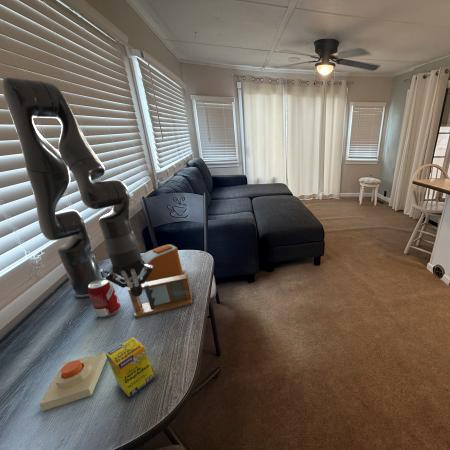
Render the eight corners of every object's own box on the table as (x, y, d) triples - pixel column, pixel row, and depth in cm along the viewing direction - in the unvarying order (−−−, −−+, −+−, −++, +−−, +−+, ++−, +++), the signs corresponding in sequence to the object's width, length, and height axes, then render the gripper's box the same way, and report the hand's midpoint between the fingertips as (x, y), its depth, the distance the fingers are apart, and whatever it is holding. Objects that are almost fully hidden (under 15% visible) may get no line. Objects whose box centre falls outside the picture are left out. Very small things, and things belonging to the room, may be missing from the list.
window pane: (151, 304, 85) (143, 279, 81) (172, 299, 88) (166, 274, 84) (148, 314, 81) (140, 287, 77) (171, 308, 83) (164, 282, 79)
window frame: (138, 306, 86) (130, 283, 83) (192, 294, 92) (187, 272, 89) (134, 317, 81) (126, 293, 78) (191, 303, 87) (186, 280, 84)
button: (67, 367, 60) (64, 362, 59) (85, 363, 61) (82, 357, 60) (60, 380, 57) (57, 375, 56) (79, 375, 58) (76, 370, 57)
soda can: (108, 319, 80) (97, 290, 76) (92, 317, 82) (80, 288, 77) (125, 306, 87) (116, 278, 82) (110, 304, 88) (100, 276, 84)
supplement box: (130, 399, 56) (116, 365, 52) (118, 386, 59) (104, 353, 55) (155, 378, 61) (144, 346, 57) (143, 367, 64) (132, 335, 60)
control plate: (66, 369, 63) (60, 358, 62) (107, 358, 66) (102, 347, 65) (43, 410, 54) (35, 399, 52) (91, 395, 57) (86, 383, 55)
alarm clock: (174, 268, 111) (168, 241, 106) (184, 273, 106) (178, 246, 102) (140, 283, 100) (131, 254, 95) (149, 290, 95) (140, 260, 90)
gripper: (150, 239, 77) (162, 284, 83) (101, 246, 73) (117, 293, 79) (145, 248, 71) (159, 296, 77) (91, 257, 66) (110, 307, 73)
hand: (138, 295), depth 78 cm, fingers closed
